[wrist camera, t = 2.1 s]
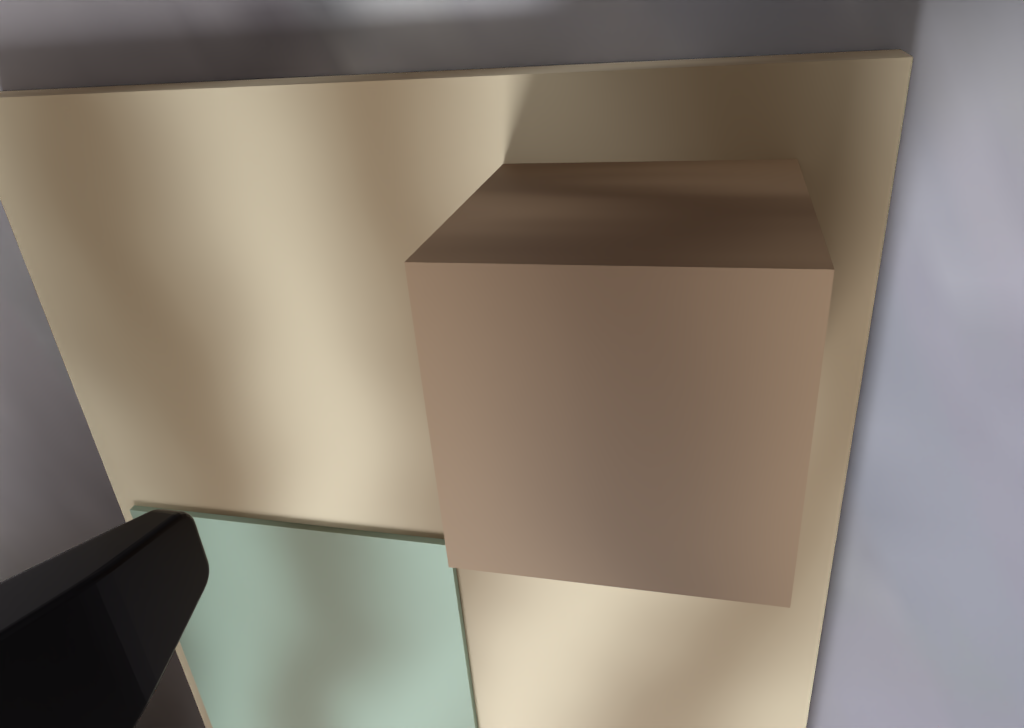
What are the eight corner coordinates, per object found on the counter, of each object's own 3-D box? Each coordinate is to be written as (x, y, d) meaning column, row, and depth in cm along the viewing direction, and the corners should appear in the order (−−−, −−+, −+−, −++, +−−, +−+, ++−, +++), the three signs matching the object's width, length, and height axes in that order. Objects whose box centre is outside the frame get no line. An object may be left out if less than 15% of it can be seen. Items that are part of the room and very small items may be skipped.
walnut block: (521, 402, 16) (448, 567, 12) (503, 163, 14) (404, 261, 10) (771, 417, 15) (790, 608, 11) (797, 159, 13) (834, 269, 8)
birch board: (225, 708, 26) (204, 739, 25) (0, 91, 17) (-48, 101, 16) (784, 808, 22) (787, 852, 21) (900, 49, 12) (915, 58, 11)
